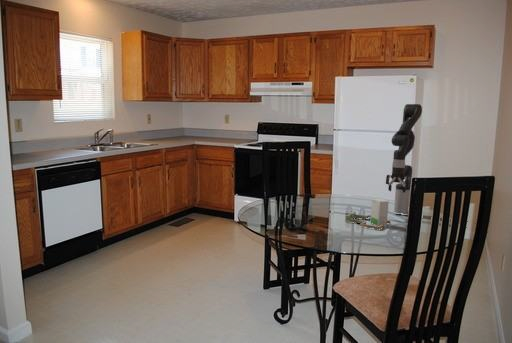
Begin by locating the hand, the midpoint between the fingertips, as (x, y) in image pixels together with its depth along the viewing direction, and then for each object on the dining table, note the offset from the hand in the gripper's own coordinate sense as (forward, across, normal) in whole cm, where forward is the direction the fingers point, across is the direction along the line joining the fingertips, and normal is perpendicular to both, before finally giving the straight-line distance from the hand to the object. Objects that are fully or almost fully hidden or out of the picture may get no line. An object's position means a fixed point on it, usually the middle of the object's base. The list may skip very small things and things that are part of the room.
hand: (396, 191), depth 261 cm
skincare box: (+18, +3, +22) cm, 29 cm away
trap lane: (+18, +9, +22) cm, 30 cm away
